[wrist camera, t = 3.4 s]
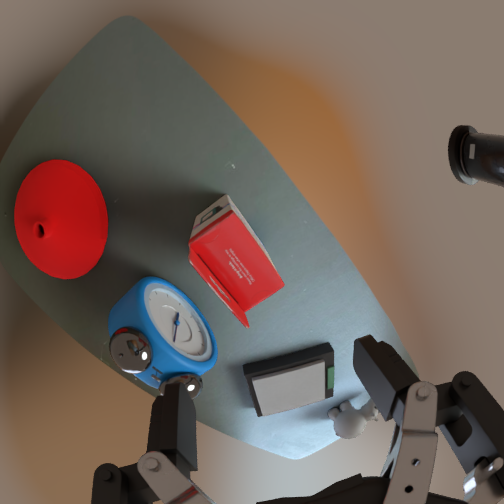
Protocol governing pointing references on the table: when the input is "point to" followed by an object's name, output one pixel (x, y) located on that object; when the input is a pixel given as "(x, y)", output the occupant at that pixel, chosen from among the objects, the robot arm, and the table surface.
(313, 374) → the scale
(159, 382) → the alarm clock
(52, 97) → the table surface
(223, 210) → the ink box
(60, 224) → the flat cone with hole
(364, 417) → the round bodied animal figurine
